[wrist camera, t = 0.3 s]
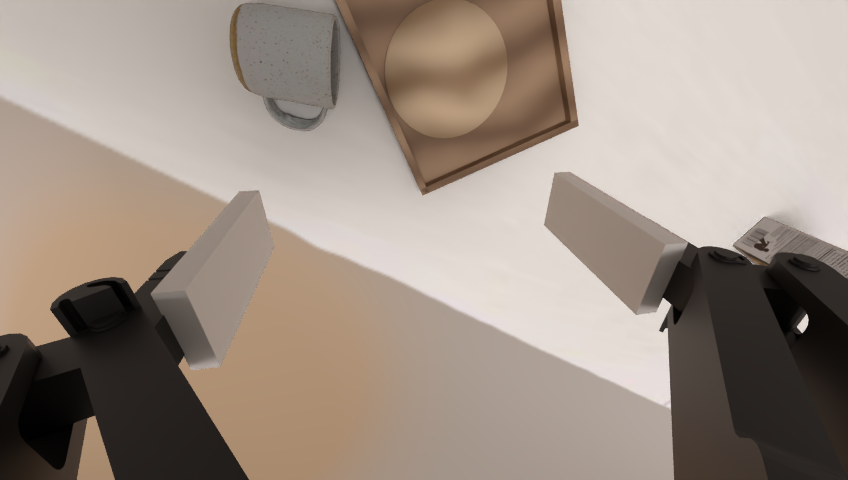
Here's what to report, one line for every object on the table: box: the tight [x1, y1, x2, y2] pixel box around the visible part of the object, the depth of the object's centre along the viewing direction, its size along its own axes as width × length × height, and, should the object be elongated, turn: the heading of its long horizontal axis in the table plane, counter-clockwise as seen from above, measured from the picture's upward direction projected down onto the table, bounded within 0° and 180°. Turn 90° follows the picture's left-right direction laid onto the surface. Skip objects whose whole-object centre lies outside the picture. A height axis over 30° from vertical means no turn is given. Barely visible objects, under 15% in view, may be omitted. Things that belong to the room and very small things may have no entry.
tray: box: [336, 0, 579, 195], centre depth 34 cm, size 22×20×2 cm
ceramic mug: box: [230, 3, 340, 131], centre depth 30 cm, size 11×8×8 cm
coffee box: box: [733, 217, 848, 279], centre depth 49 cm, size 9×6×16 cm
